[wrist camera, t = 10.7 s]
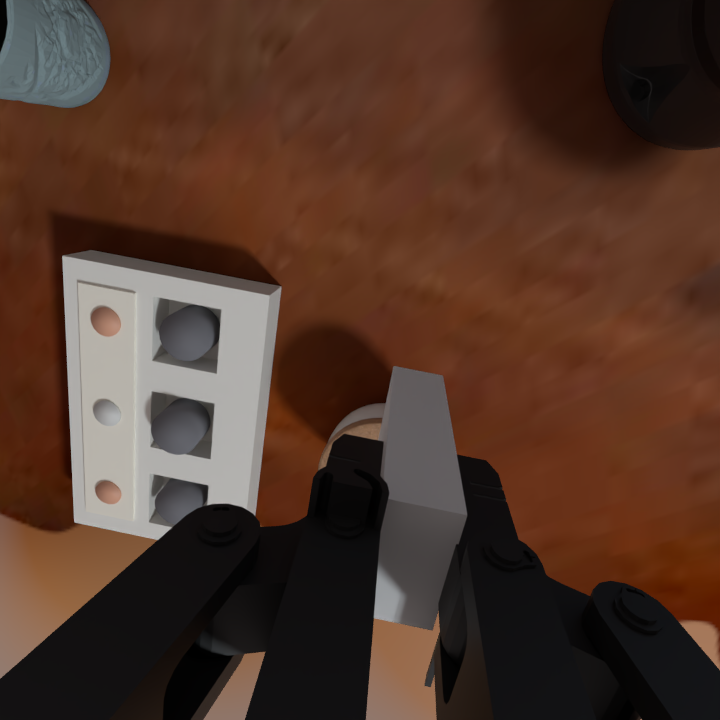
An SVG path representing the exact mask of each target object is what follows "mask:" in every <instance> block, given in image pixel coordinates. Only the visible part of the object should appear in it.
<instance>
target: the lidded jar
mask: <svg viewBox="0 0 720 720" xmlns="http://www.w3.org/2000/svg"><path fill="white" fill-rule="evenodd" d="M385 405H386V403H376V404H370V405H366V406H364V407H361V408H358V409H357V410H355V411H353V412H351V413H350V414H349V415H347V416H346V417H345V418H344V419H343V420H342V421H341V422H340V423H339V424H338V425H337V427H336V428H335V430H334V431H333V433H332V434H331V436H330V438H329V440H328V443H327V445H326V446H325V448H324V451H323V453H322V455H321V458H320V463H319V467H318V470H320V469H322V468H324V467H326V463H327V460H328V457H329V453H330V450H331V447H332V443H333V442H334V441H335V440H337V439H338V438H339V437H340V436H342V435H343V434H349V435H354V436H359V437H364V438H369V439H374V440H378V438H379V433H380V429H381V424H382V419H383V414H384V410H385Z"/></svg>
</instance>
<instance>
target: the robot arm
mask: <svg viewBox="0 0 720 720" xmlns="http://www.w3.org/2000/svg"><path fill="white" fill-rule="evenodd" d="M603 73H604V79H605V84H606V88H607V91H608V94H609V97H610V99H611V102H612V104H613V106H614V108H615V109H616V111H617V113H618V114H619V116H620V117H621V118H622V120H623V121H624V122H625V123H626V124H627V125H628V126H629V127H630V128H631V129H632V130H633V131H634V132H635V133H637V134H638V135H639V136H641V137H643V138H644V139H646V140H648V141H650V142H652V143H654V144H657V145H659V146H662V147H666V148H670V149H677V150H701V149H709V148H717V147H720V0H615V1H614V4H613V6H612V9H611V12H610V15H609V18H608V22H607V26H606V30H605V35H604V42H603ZM438 610H439V624H440V633H439V636H438V639H437V642H436V646H435V650H434V652H433V655H432V659H431V662H430V665H429V668H428V672H427V675H426V680H425V686H428V687H431V684H432V680H433V678H434V675H435V692H436V693H435V694H436V715H437V720H640V719H642V720H720V670H719V669H718V668H717V666H716V665H715V664H714V663H713V662H712V661H711V659H710V658H709V657H708V656H707V655H706V654H705V652H704V651H703V650H702V649H701V648H700V647H699V646H698V644H697V643H696V642H695V641H694V640H693V638H692V637H691V636H690V635H689V634H688V633H687V631H686V630H685V629H684V628H683V627H682V625H681V624H680V623H679V622H678V621H677V620H676V618H675V617H674V616H673V615H672V614H671V613H670V612H669V611H668V610H667V609H666V608H665V607H664V606H663V605H662V604H661V603H660V602H659V601H657V600H656V599H654V598H653V597H651V596H650V595H648V594H646V593H645V592H643V591H642V590H640V589H637V588H635V587H632V586H630V585H628V584H625V583H620V582H614V581H608V582H602V583H599V584H598V585H597V586H596V587H595V588H594V589H593V591H592V593H591V596H588V595H586V594H584V593H581V592H579V591H577V590H575V589H572V588H570V587H568V586H566V585H563V584H561V583H559V582H557V581H555V580H553V579H552V578H550V577H548V576H547V575H546V574H545V571H544V568H543V565H542V563H541V561H540V560H539V558H538V556H537V555H536V553H535V552H534V551H533V550H531V549H530V548H529V547H528V546H527V545H526V544H525V543H523V542H521V541H520V540H518V537H517V533H516V530H515V527H514V524H513V520H512V517H511V514H510V511H509V507H508V504H507V502H506V498H505V494H504V491H503V490H502V485H501V481H500V478H499V475H498V473H497V472H496V471H495V470H494V469H493V468H492V467H491V465H490V464H489V463H488V462H487V461H486V460H481V459H476V458H471V457H466V456H461V455H457V453H456V448H455V442H454V436H453V431H452V425H451V419H450V414H449V408H448V402H447V397H446V391H445V385H444V380H443V376H442V375H437V374H432V373H427V372H422V371H416V370H411V369H406V368H401V367H396V366H394V367H393V371H392V376H391V381H390V386H389V390H388V395H387V400H386V405H385V410H384V414H383V419H382V424H381V429H380V433H379V438H378V440H374V439H369V438H364V437H359V436H354V435H349V434H343V435H342V436H340V437H339V438H338V439H337V440H335V441H334V442H333V443H332V447H331V450H330V453H329V457H328V460H327V463H326V467H324V468H322V469H320V470H318V472H317V473H316V474H315V476H314V477H313V483H312V489H311V495H310V501H309V508H308V514H307V516H306V517H304V518H303V519H301V520H299V521H297V522H295V523H291V524H288V525H282V526H271V527H260V522H259V521H258V520H257V518H256V517H255V516H254V514H253V513H251V512H250V511H248V510H246V509H245V508H243V507H240V506H236V505H232V504H210V505H207V506H203V507H199V508H197V509H195V510H194V511H192V512H191V513H189V514H187V515H186V516H185V517H183V518H182V519H181V520H180V521H179V522H178V523H177V524H176V525H174V526H173V527H172V528H171V529H170V530H169V531H168V532H166V533H165V534H164V535H163V536H162V537H161V538H160V539H159V540H157V541H156V542H155V543H154V544H153V545H152V546H151V547H149V548H148V549H147V550H146V551H145V552H144V553H143V554H142V555H140V556H139V557H138V558H137V559H136V560H135V561H134V562H132V563H131V564H130V565H129V566H128V567H127V568H126V569H125V570H124V571H122V572H121V573H120V574H119V575H118V576H117V577H115V578H114V579H113V580H112V581H111V582H110V583H109V584H107V585H106V586H105V587H104V588H103V589H102V590H101V591H100V592H98V593H97V594H96V595H95V596H94V597H93V598H92V599H90V600H89V601H88V602H87V603H86V604H85V605H84V606H82V607H81V608H80V609H79V610H78V611H77V612H76V613H75V614H73V616H71V617H70V618H69V619H68V620H67V621H65V622H64V623H63V624H62V625H61V626H60V627H59V628H58V629H56V630H55V631H54V632H53V633H52V634H51V635H50V636H48V637H47V638H46V639H45V640H44V641H43V642H42V643H41V644H40V645H38V646H37V647H36V648H35V649H34V650H33V651H31V652H30V653H29V654H28V655H27V656H26V657H25V658H24V659H22V660H21V661H20V662H19V663H18V664H17V665H16V666H14V667H13V668H12V669H11V670H10V671H9V672H8V673H6V674H5V675H4V676H3V677H2V678H1V679H0V720H203V719H204V718H205V716H206V714H207V713H208V711H209V710H210V708H211V706H212V705H213V704H214V702H215V701H216V699H217V697H218V696H219V694H220V693H221V691H222V690H223V688H224V687H225V685H226V683H227V682H228V681H229V679H230V677H231V676H232V674H233V673H234V671H235V670H236V668H237V667H238V665H239V664H240V662H241V660H242V658H243V655H244V654H247V653H256V652H265V651H266V652H265V656H264V659H263V662H262V666H261V669H260V672H259V675H258V679H257V682H256V685H255V688H254V692H253V695H252V698H251V701H250V705H249V708H248V712H247V715H246V718H245V720H366V709H367V695H368V684H369V670H370V658H371V646H372V634H373V621H374V618H376V619H381V620H385V621H390V622H395V623H400V624H405V625H409V626H414V627H419V628H423V629H428V630H433V627H434V624H435V620H436V617H437V614H438Z"/></svg>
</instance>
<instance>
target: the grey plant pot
mask: <svg viewBox="0 0 720 720" xmlns="http://www.w3.org/2000/svg"><path fill="white" fill-rule="evenodd" d="M109 68H110V48H109V43H108V38H107V36H106V33H105V30H104V27H103V25H102V23H101V21H100V20H99V18H98V17H97V15H96V14H95V12H94V11H93V10H92V8H91V7H90V6H89V5H88V4H87V3H86V2H85V1H84V0H0V99H8V100H20V101H23V102H27V103H35V104H44V105H51V106H56V107H64V108H71V107H77V106H81V105H83V104H86V103H88V102H90V101H91V100H93V99H94V98H95V97H96V96H97V95H98V94H99V93H100V91H101V90H102V89H103V87H104V85H105V82H106V80H107V77H108V74H109Z"/></svg>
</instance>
